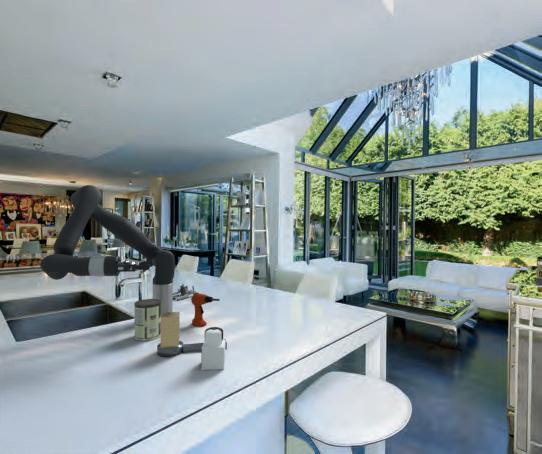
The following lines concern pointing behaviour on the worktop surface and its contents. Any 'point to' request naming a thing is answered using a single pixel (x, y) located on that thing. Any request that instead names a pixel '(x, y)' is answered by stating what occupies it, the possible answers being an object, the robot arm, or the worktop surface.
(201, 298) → the toy drill
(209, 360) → the medicine bottle
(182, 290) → the grey toy warship
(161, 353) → the ratchet
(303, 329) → the worktop surface
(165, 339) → the brushed brass block
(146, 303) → the coffee can
